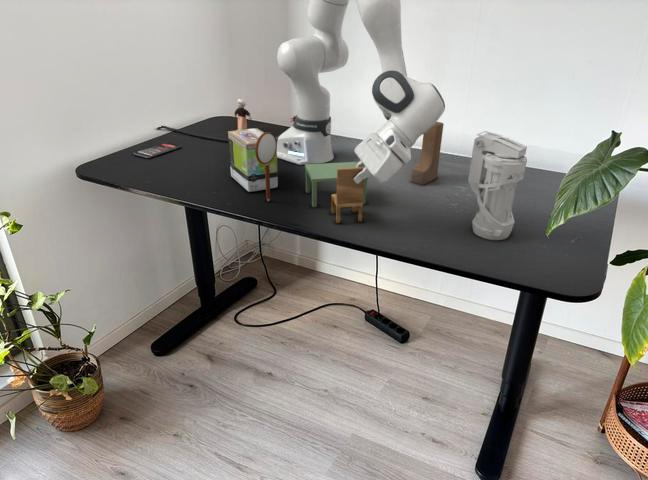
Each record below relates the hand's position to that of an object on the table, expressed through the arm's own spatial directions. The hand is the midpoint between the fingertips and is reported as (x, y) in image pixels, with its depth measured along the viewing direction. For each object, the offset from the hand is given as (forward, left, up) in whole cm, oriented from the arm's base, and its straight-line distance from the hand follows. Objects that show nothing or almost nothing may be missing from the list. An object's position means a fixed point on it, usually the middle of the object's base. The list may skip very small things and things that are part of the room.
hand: (353, 179), depth 139 cm
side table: (-12, +12, -12) cm, 21 cm away
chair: (-3, +2, -12) cm, 12 cm away
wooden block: (+6, +40, -12) cm, 42 cm away
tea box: (-39, +10, -12) cm, 42 cm away
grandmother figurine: (-73, +51, -12) cm, 89 cm away
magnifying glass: (-27, 0, -12) cm, 29 cm away
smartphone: (-84, +16, -12) cm, 86 cm away
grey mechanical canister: (+33, +14, -12) cm, 38 cm away
